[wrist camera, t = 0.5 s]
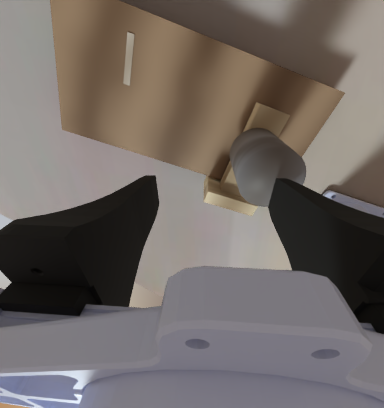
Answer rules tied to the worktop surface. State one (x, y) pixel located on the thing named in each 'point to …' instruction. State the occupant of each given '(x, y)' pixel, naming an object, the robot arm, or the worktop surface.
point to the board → (171, 87)
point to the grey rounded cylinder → (255, 164)
